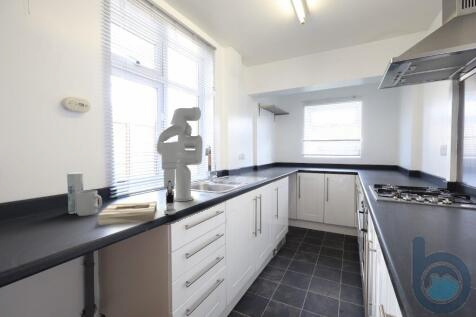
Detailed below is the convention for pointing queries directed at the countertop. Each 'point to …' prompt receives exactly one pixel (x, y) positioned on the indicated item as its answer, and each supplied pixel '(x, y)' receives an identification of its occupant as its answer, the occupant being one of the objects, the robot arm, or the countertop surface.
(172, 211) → the peg
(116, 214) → the keyhole plate
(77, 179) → the tall grey container
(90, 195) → the mug
